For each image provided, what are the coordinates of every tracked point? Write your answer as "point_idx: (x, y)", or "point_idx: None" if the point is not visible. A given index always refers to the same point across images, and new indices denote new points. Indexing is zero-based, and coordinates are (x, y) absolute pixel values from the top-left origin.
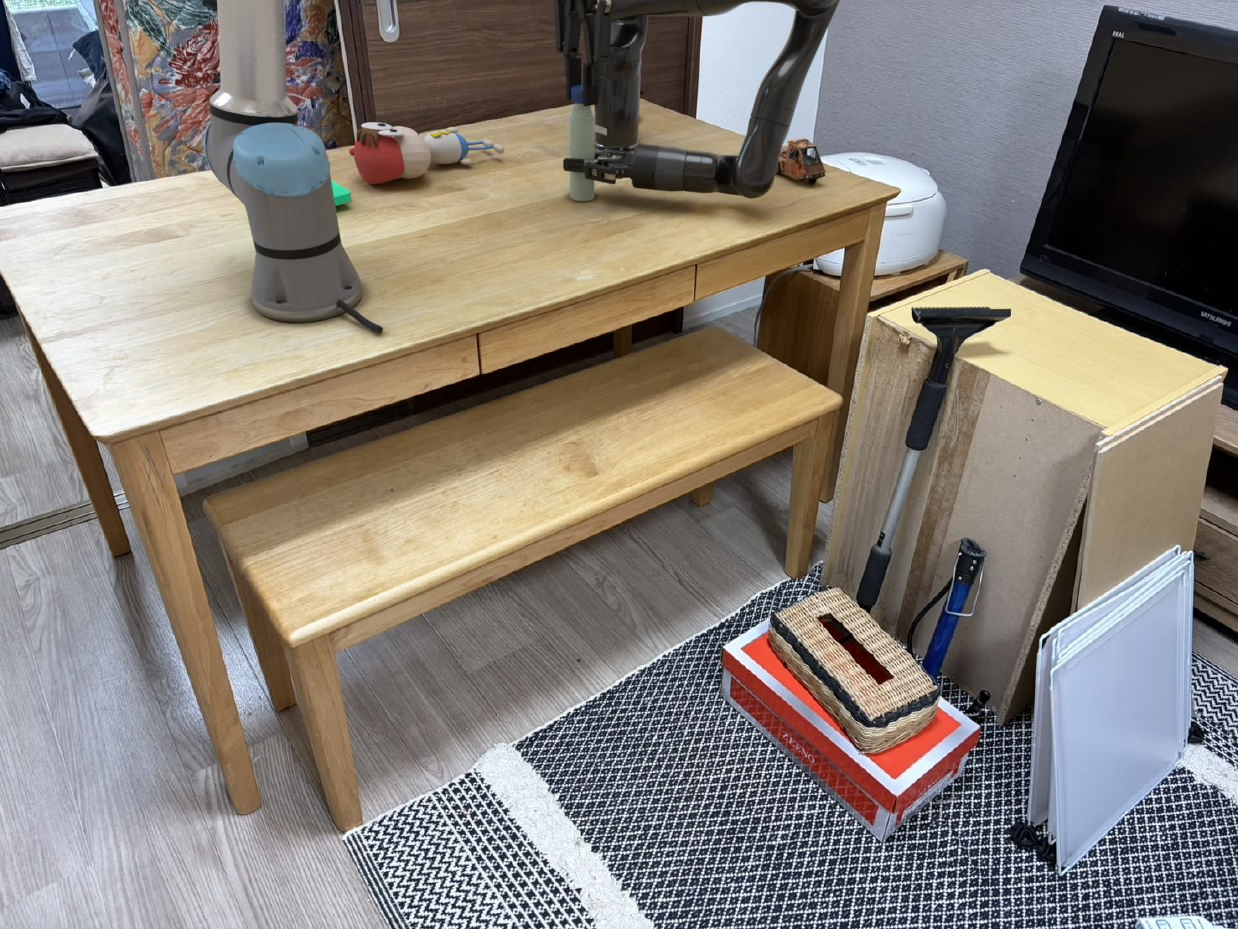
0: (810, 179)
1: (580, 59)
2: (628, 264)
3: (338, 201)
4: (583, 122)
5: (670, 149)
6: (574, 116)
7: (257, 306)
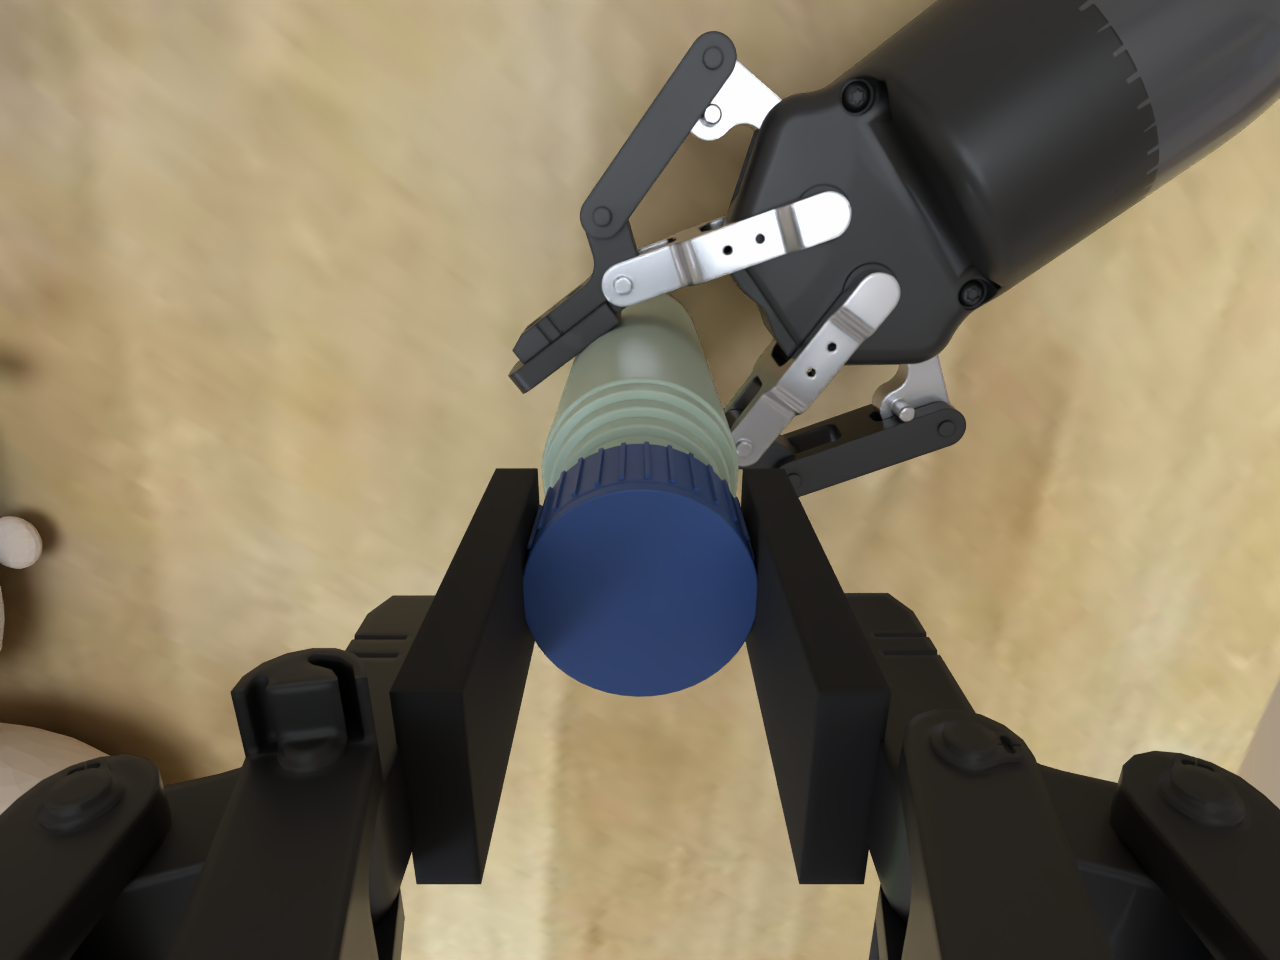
0: None
1: (470, 702)
2: (1238, 627)
3: None
4: None
5: (1228, 40)
6: None
7: None
